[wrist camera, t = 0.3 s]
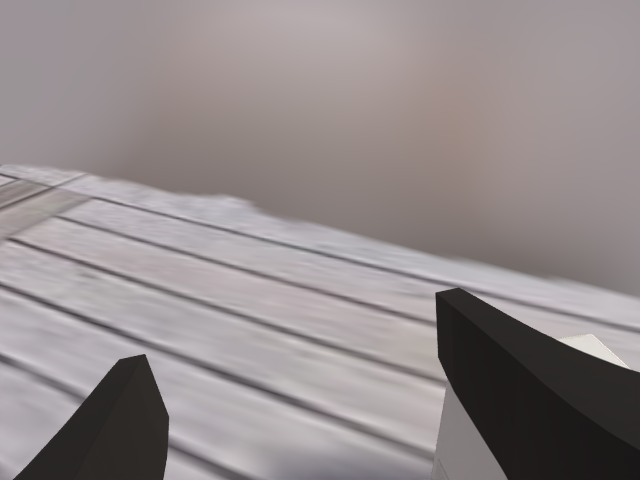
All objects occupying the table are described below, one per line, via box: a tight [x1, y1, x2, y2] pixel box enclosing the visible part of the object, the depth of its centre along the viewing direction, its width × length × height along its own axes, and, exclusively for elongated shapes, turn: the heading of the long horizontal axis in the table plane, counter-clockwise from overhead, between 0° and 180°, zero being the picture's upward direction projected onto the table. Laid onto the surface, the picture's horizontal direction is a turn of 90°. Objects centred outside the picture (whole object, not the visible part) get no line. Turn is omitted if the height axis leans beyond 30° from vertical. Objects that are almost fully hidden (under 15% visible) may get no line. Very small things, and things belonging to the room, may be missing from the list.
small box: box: [431, 334, 631, 480], centre depth 25 cm, size 8×6×13 cm
